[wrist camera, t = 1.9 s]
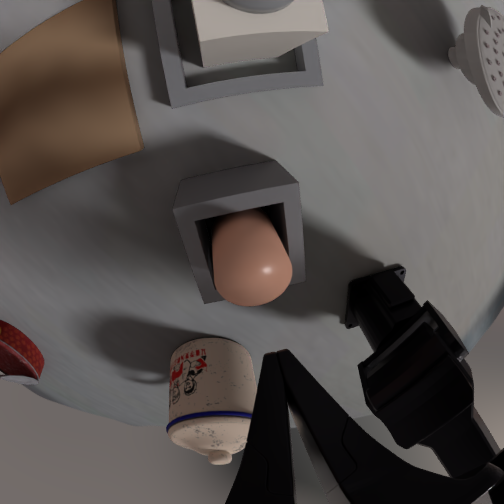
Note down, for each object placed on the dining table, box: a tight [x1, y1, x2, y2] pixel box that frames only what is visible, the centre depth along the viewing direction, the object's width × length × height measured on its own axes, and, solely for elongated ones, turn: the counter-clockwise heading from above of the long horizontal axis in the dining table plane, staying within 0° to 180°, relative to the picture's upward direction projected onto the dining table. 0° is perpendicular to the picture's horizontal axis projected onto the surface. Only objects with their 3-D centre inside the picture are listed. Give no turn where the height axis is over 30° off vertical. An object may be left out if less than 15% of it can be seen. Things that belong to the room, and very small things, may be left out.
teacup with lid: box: [166, 338, 257, 465], centre depth 23 cm, size 12×9×12 cm
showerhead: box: [448, 5, 504, 118], centre depth 10 cm, size 9×7×10 cm
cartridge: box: [191, 0, 329, 68], centre depth 9 cm, size 5×5×9 cm
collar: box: [152, 0, 323, 109], centre depth 12 cm, size 9×9×2 cm
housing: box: [172, 160, 306, 304], centre depth 17 cm, size 6×6×5 cm
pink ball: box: [211, 207, 292, 306], centre depth 15 cm, size 4×4×4 cm
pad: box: [0, 0, 144, 205], centre depth 12 cm, size 12×12×1 cm
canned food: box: [0, 320, 44, 385], centre depth 21 cm, size 11×10×10 cm
